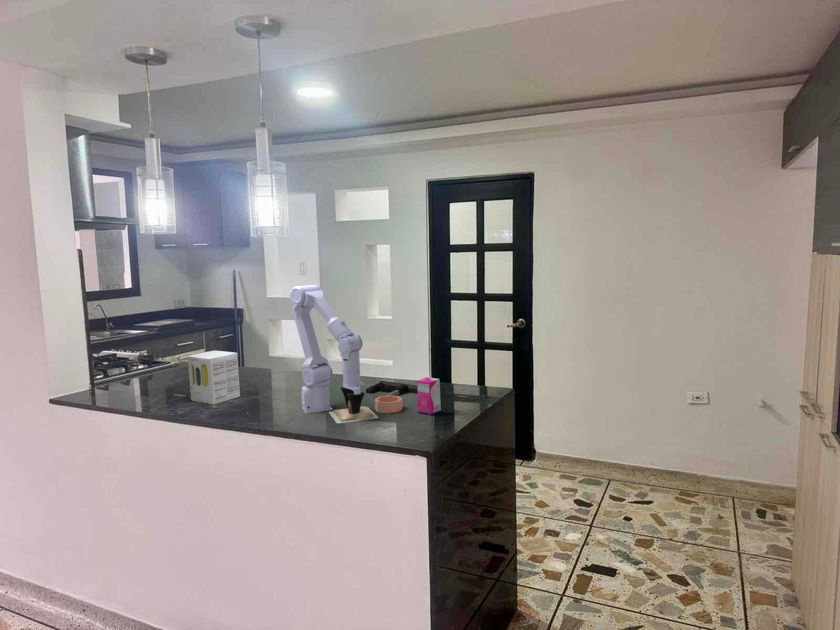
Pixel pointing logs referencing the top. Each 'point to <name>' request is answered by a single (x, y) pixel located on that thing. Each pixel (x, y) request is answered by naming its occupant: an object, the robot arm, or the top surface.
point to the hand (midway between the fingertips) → (353, 410)
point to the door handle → (392, 388)
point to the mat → (351, 420)
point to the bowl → (388, 404)
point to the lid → (348, 415)
